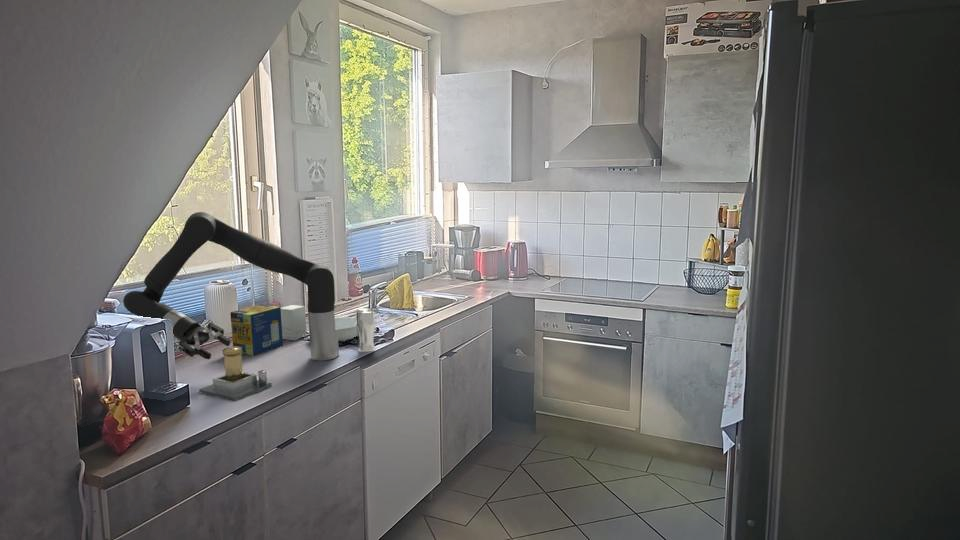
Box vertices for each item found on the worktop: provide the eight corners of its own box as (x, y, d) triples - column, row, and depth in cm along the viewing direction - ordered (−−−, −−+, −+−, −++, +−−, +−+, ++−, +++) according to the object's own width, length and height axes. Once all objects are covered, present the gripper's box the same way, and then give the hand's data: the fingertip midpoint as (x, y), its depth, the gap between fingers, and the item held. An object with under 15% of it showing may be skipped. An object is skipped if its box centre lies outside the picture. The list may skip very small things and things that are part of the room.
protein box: (232, 352, 239) (229, 312, 236) (264, 342, 252) (261, 303, 250) (253, 356, 234) (249, 314, 232) (284, 345, 248) (281, 306, 245)
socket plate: (236, 378, 209) (235, 364, 208) (271, 386, 201) (270, 371, 200) (199, 392, 197) (197, 376, 196) (234, 400, 189) (233, 384, 188)
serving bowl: (370, 332, 264) (370, 316, 263) (356, 347, 244) (355, 329, 243) (321, 332, 266) (320, 316, 265) (303, 346, 246) (302, 329, 245)
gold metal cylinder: (236, 381, 203) (233, 345, 201) (248, 384, 200) (245, 347, 198) (221, 387, 198) (218, 349, 196) (233, 390, 195) (230, 352, 193)
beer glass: (353, 350, 239) (351, 310, 237) (368, 346, 244) (367, 307, 242) (364, 353, 234) (362, 313, 232) (379, 349, 239) (377, 310, 237)
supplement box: (307, 336, 260) (305, 306, 258) (293, 341, 254) (291, 309, 252) (294, 334, 264) (292, 304, 262) (280, 338, 257) (278, 307, 255)
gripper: (163, 327, 200) (204, 352, 197) (197, 307, 212) (237, 330, 209) (161, 345, 204) (202, 370, 201) (195, 324, 216) (234, 347, 213)
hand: (220, 350), depth 205 cm, fingers open, 8 cm apart
